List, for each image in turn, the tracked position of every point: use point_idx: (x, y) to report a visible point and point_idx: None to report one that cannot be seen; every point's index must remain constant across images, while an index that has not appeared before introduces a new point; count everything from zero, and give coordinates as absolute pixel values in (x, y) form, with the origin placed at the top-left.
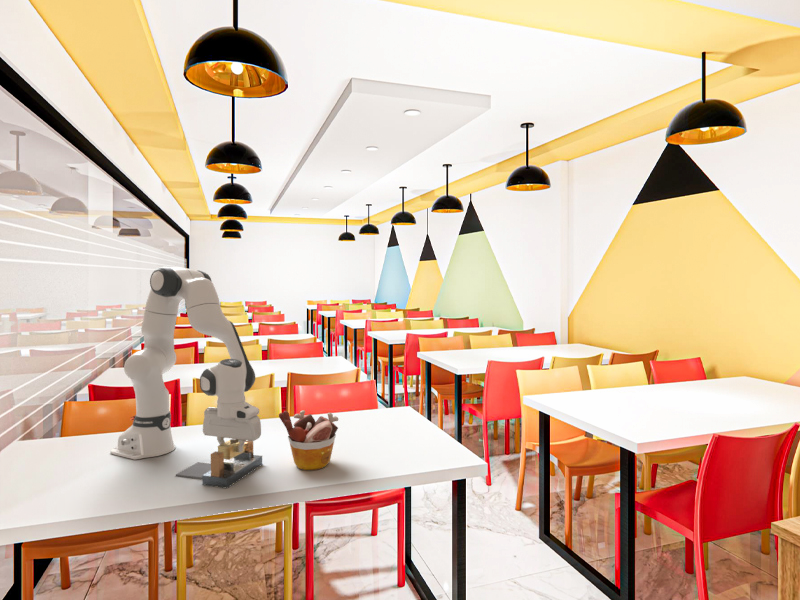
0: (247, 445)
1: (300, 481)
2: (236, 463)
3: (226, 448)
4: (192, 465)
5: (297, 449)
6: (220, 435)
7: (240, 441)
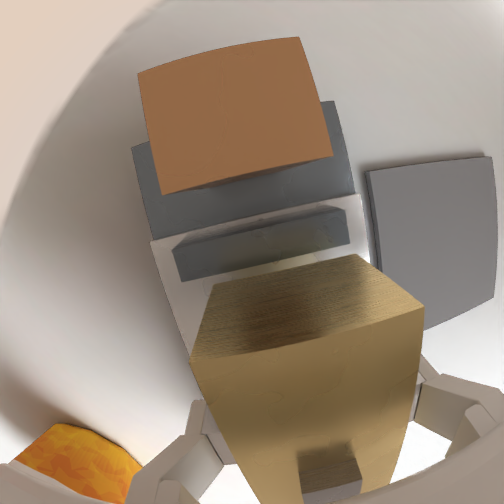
0: None
1: (11, 351)
2: None
3: (256, 336)
4: (495, 261)
5: (41, 469)
6: (493, 452)
7: (151, 488)
